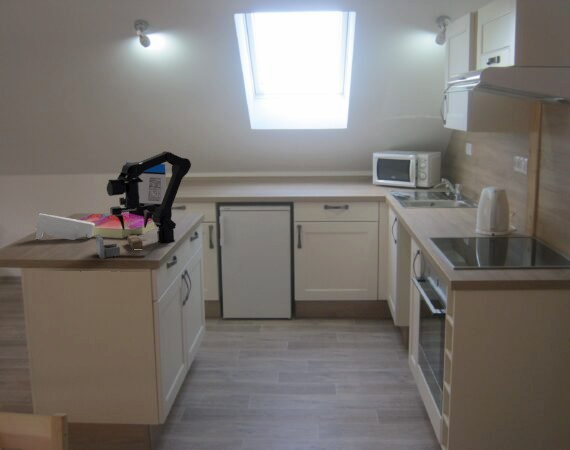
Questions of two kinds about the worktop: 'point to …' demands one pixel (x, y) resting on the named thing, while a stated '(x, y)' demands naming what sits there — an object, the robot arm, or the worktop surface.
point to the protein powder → (151, 188)
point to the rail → (135, 242)
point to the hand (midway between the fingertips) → (134, 228)
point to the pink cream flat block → (118, 225)
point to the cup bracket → (106, 248)
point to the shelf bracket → (63, 227)
